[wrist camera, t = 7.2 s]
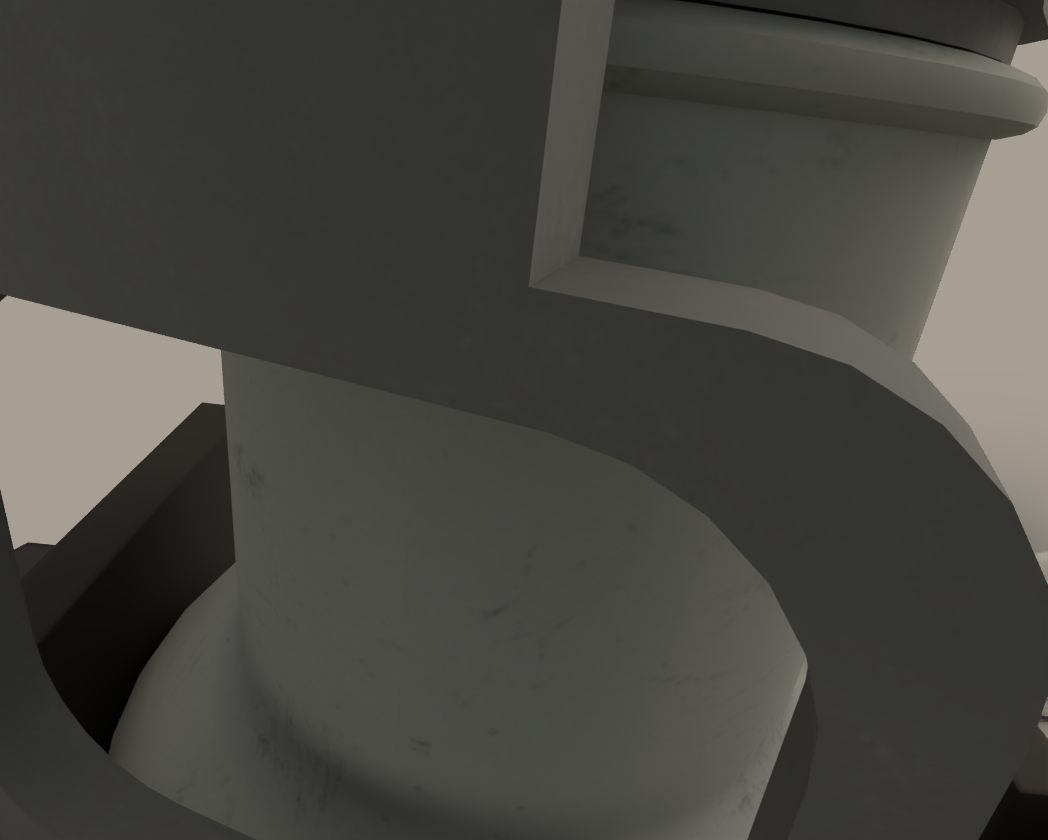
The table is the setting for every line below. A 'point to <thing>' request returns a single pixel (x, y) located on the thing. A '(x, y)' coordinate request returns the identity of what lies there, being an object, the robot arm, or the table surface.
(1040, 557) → the table surface
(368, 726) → the water bottle
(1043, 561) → the table surface
